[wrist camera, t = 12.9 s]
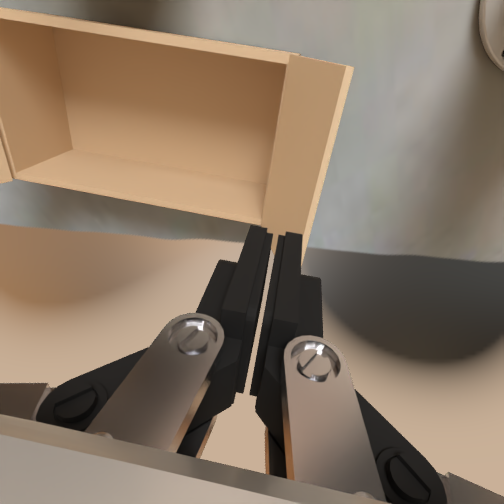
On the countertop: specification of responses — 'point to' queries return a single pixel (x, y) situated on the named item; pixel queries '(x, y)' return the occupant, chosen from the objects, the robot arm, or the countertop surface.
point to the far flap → (4, 167)
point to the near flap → (304, 144)
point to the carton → (140, 113)
